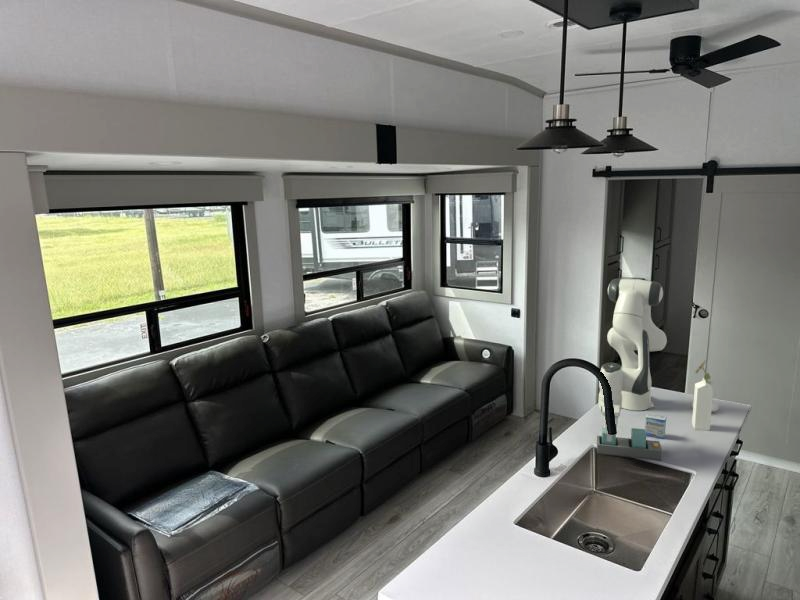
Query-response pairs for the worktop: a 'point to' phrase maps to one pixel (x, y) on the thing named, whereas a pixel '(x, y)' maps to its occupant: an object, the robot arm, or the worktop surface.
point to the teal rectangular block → (604, 438)
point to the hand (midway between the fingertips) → (608, 435)
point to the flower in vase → (707, 376)
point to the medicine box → (655, 426)
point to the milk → (702, 405)
